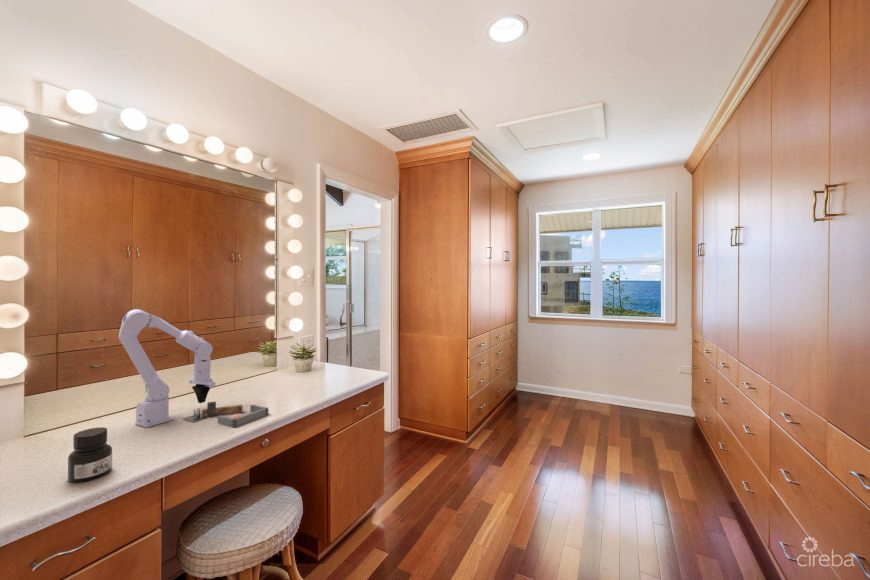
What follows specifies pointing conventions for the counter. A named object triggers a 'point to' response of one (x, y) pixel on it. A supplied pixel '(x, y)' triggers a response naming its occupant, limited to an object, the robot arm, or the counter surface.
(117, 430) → the counter surface
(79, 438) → the ink bottle
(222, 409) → the lever
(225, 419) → the tray
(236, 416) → the ball
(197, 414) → the pivot base
